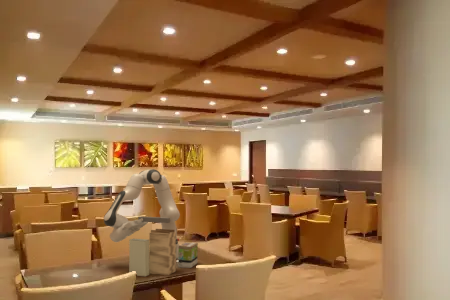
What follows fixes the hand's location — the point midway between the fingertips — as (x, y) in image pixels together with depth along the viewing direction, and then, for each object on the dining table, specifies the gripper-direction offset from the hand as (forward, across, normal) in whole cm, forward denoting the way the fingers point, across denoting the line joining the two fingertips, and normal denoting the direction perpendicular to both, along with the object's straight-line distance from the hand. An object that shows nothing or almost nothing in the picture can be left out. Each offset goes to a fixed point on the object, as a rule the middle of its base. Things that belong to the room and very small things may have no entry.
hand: (144, 218), depth 272 cm
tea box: (+1, +23, +40) cm, 47 cm away
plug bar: (+5, 0, +5) cm, 7 cm away
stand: (-5, 0, +37) cm, 37 cm away
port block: (-15, -11, +31) cm, 36 cm away
